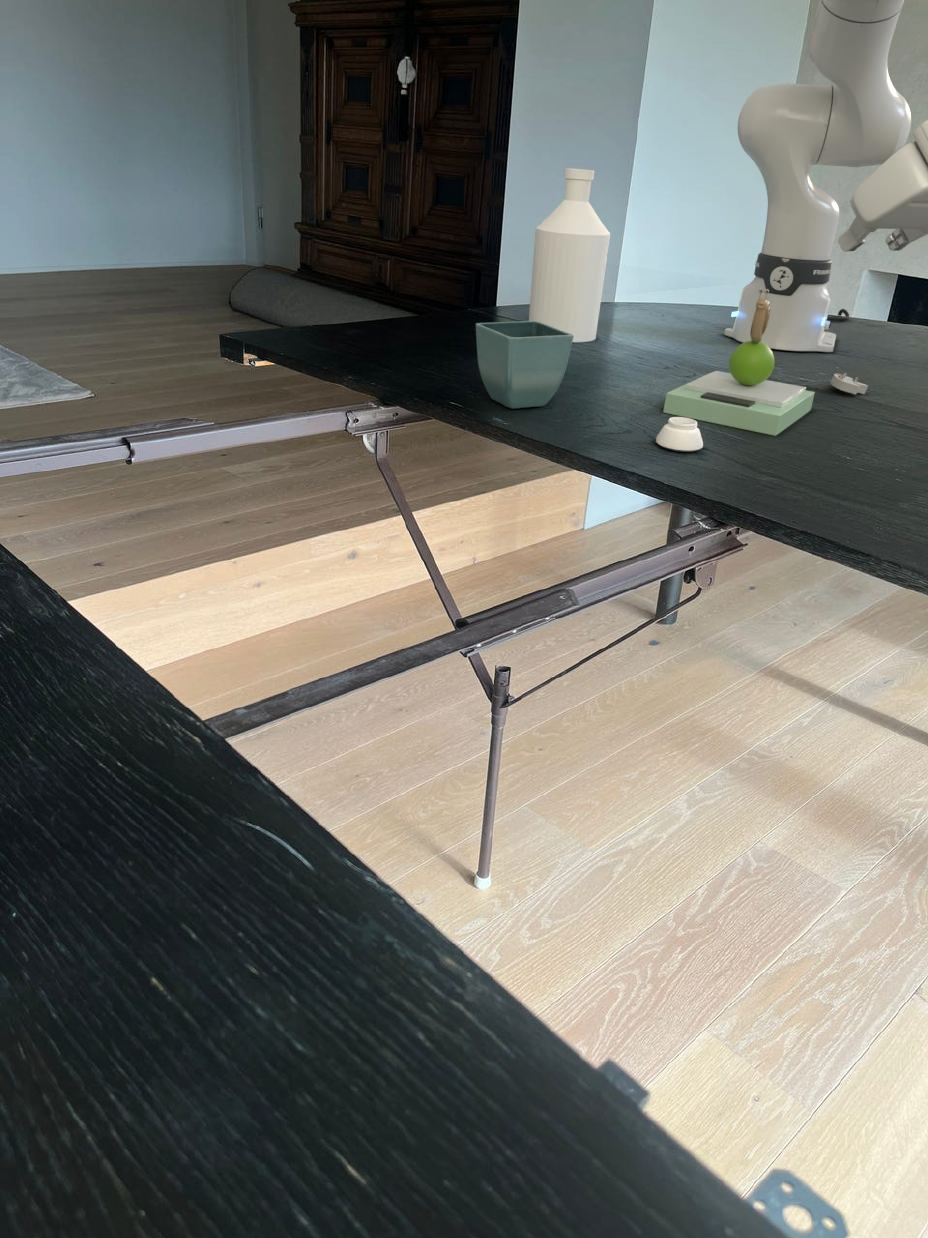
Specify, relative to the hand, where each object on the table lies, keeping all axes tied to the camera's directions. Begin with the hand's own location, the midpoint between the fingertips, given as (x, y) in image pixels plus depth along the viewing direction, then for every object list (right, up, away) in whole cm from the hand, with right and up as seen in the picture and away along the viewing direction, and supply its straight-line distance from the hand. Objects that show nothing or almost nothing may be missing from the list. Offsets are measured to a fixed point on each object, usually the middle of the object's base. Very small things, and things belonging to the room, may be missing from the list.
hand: (868, 245), depth 104 cm
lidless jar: (-21, -22, 0) cm, 30 cm away
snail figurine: (-8, -11, +16) cm, 22 cm away
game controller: (+7, -8, +31) cm, 33 cm away
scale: (-9, -14, +16) cm, 24 cm away
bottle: (-28, +6, +55) cm, 62 cm away
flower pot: (-38, -14, +13) cm, 42 cm away
